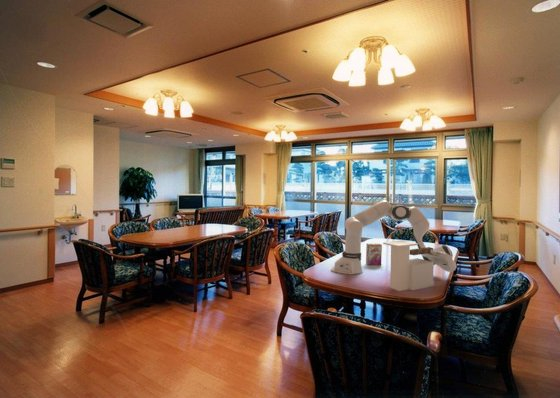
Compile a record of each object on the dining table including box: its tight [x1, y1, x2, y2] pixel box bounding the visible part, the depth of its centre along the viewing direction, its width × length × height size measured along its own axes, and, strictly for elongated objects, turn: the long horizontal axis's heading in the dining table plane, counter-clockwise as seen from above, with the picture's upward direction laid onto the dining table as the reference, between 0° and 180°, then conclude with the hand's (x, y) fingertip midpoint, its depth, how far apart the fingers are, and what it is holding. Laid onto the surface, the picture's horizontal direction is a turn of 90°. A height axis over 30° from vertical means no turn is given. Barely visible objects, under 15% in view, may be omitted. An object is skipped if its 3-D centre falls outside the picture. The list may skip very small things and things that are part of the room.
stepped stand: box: [382, 240, 435, 292], centre depth 197 cm, size 31×12×28 cm, turn 118°
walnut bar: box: [409, 246, 433, 256], centre depth 202 cm, size 18×3×3 cm, turn 118°
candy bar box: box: [365, 243, 383, 266], centre depth 253 cm, size 11×5×16 cm, turn 92°
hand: (427, 249), depth 204 cm, fingers closed on walnut bar, 3 cm apart
